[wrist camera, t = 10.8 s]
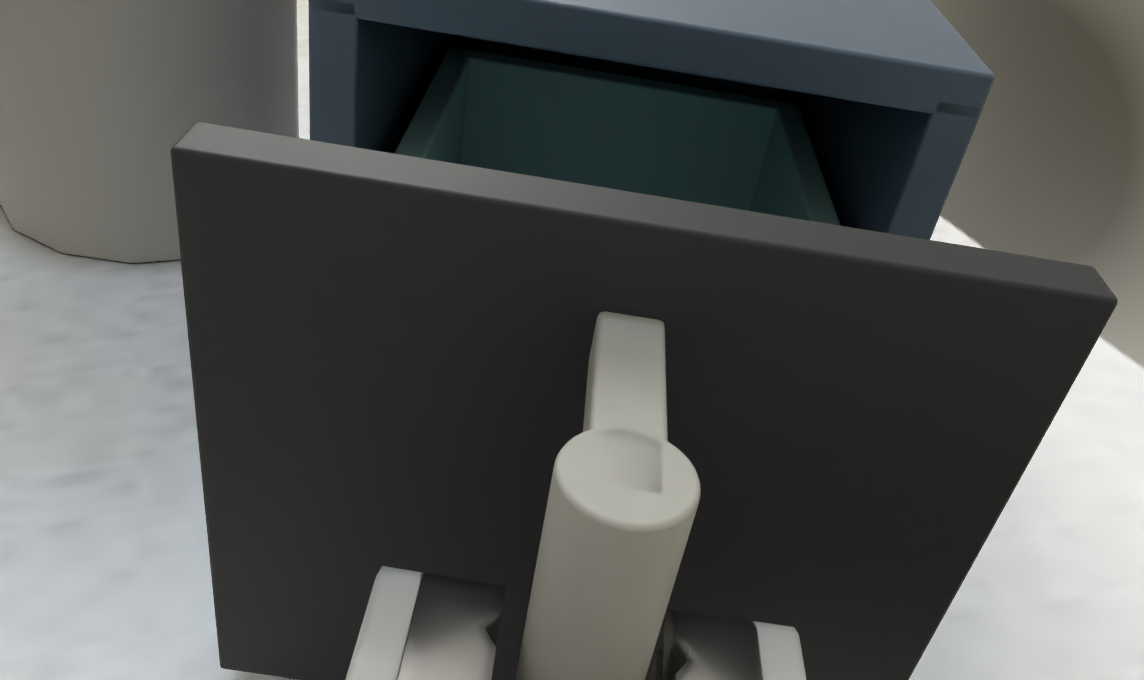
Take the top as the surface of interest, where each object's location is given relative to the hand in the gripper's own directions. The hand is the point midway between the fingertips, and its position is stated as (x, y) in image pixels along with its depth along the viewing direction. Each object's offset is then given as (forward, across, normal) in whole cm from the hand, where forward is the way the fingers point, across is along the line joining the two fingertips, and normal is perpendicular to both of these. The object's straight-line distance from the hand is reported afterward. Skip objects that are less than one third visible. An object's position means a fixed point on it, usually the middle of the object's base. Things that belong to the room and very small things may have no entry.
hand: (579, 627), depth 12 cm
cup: (+18, +13, +6) cm, 23 cm away
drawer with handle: (+7, 0, +4) cm, 8 cm away
